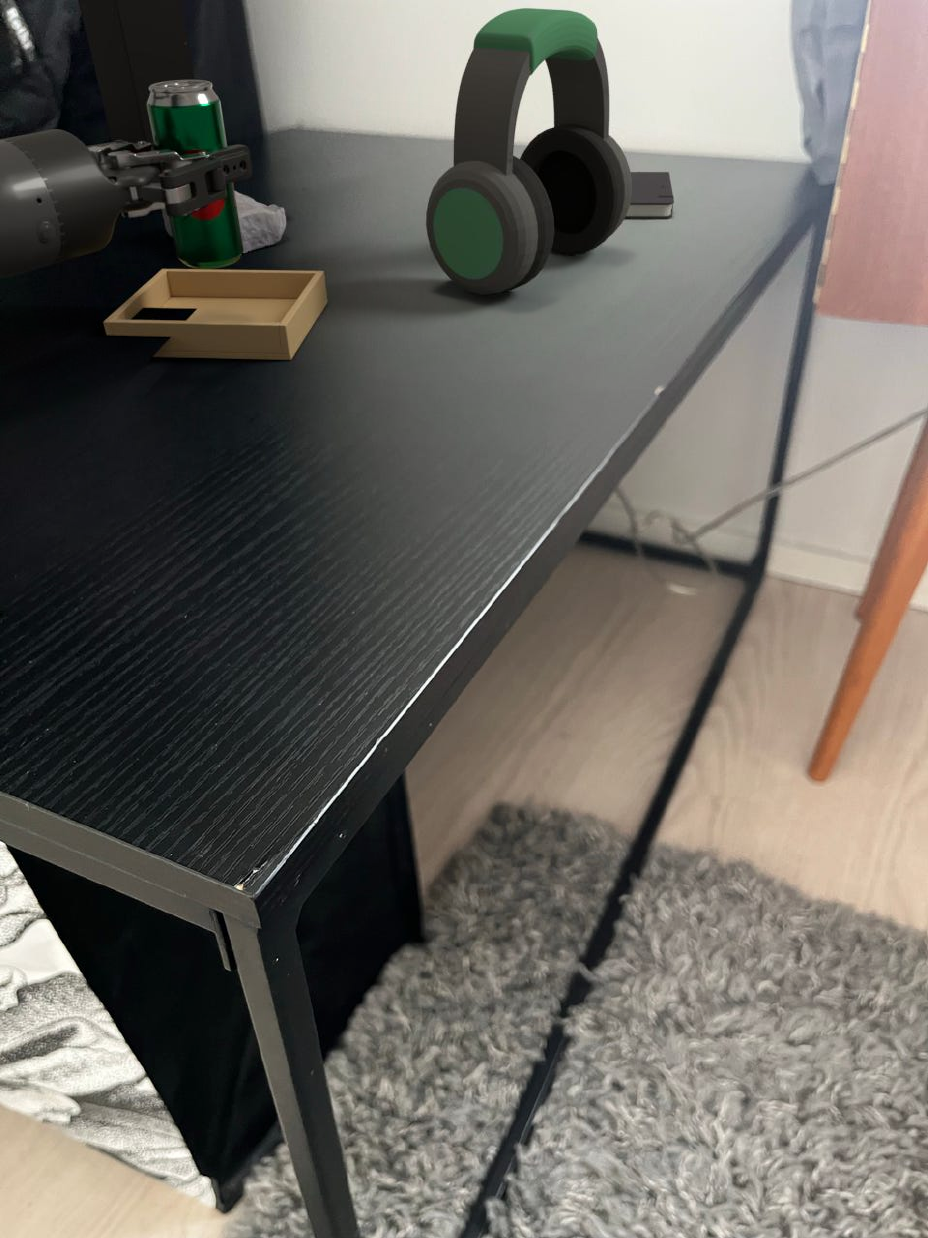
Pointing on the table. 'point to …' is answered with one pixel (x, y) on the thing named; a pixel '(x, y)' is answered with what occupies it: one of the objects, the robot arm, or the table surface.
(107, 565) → the table surface
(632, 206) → the notebook
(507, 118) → the headphones
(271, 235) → the stone block
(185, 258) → the soda can
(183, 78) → the tall black block
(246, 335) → the tray
